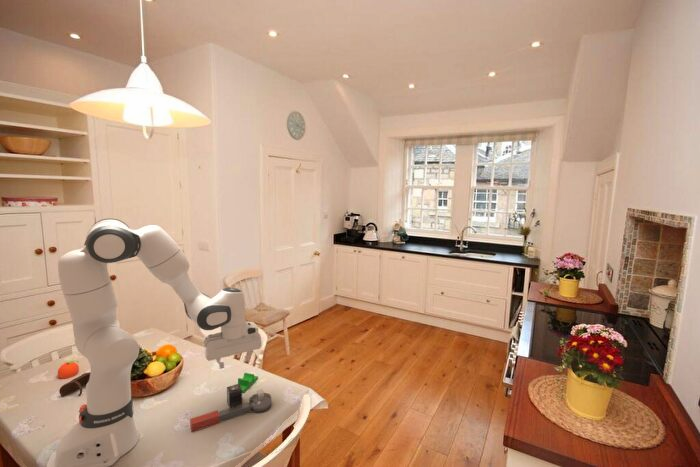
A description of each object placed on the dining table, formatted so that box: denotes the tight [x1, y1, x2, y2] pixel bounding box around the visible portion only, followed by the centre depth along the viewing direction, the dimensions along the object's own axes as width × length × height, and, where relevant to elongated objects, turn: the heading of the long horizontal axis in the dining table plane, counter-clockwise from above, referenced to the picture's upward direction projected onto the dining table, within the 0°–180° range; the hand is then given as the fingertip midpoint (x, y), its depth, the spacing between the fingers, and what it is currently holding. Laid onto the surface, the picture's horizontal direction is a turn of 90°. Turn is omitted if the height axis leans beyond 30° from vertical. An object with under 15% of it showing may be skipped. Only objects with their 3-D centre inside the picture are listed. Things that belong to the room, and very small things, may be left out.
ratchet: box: [189, 388, 272, 432], centre depth 118 cm, size 28×8×6 cm, turn 122°
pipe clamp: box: [237, 372, 259, 394], centre depth 137 cm, size 11×4×5 cm
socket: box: [226, 383, 243, 409], centre depth 125 cm, size 5×5×6 cm
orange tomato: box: [57, 360, 80, 380], centre depth 139 cm, size 8×7×7 cm
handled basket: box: [59, 371, 91, 398], centre depth 128 cm, size 18×12×7 cm, turn 77°
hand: (234, 364), depth 124 cm, fingers open, 8 cm apart
